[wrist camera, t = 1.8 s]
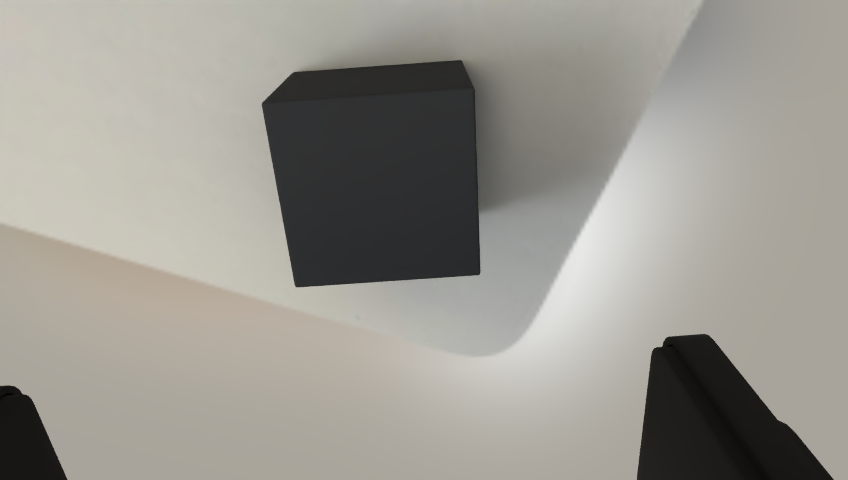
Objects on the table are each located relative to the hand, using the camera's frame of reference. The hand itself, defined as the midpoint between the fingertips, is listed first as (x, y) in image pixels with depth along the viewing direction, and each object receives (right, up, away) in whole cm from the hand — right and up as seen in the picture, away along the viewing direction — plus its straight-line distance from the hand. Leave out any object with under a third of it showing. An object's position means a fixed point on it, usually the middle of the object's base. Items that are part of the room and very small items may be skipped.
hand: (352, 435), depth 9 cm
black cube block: (0, +7, +14) cm, 16 cm away
